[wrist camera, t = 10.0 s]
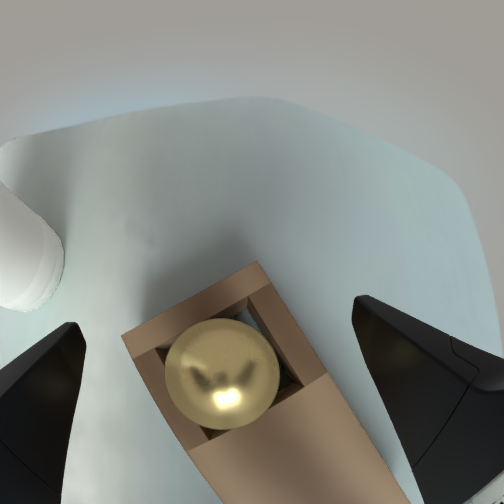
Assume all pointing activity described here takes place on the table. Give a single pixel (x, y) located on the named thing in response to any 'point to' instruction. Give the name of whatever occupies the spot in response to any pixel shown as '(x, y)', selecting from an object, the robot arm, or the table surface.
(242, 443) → the jig
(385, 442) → the table surface
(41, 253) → the bottle
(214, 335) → the disc
